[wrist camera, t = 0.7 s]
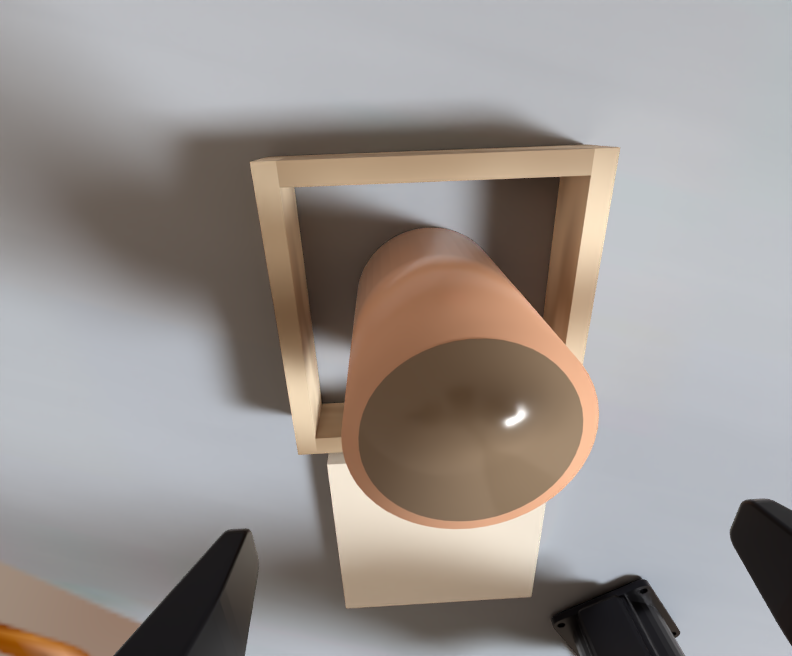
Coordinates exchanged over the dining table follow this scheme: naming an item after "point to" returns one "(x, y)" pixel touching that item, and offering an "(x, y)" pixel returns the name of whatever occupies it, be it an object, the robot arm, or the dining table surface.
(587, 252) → the wooden square frame
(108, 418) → the dining table surface
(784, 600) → the robot arm
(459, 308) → the pot
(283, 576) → the dining table surface
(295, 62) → the dining table surface
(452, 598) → the tile
